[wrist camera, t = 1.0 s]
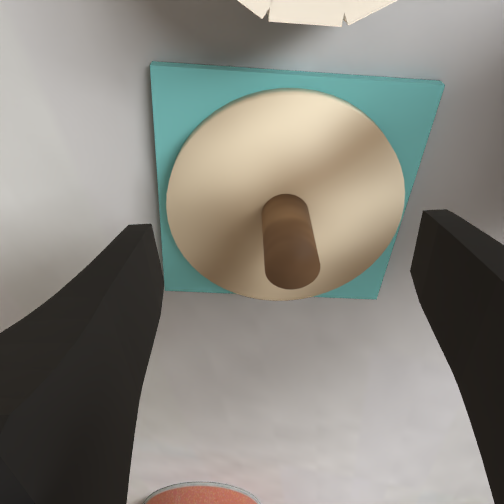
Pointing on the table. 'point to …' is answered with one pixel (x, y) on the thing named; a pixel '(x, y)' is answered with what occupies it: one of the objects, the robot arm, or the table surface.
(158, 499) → the canned food
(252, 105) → the cover
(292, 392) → the table surface
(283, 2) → the bowl
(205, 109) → the mat
